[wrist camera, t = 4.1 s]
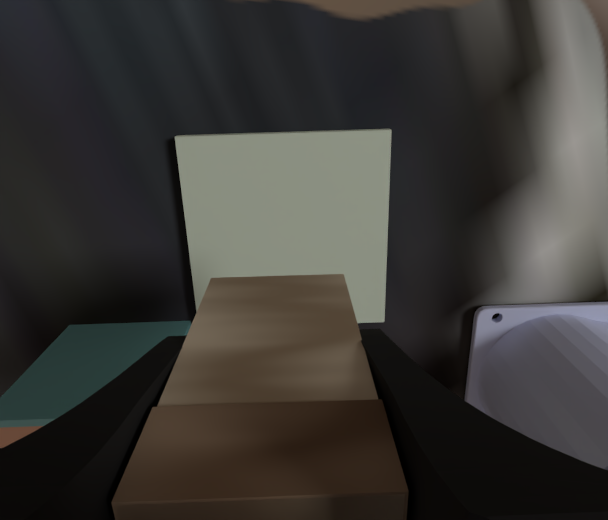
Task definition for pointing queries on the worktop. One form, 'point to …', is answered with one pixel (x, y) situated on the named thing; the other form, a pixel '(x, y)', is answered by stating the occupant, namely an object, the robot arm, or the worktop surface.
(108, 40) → the worktop surface
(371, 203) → the mat
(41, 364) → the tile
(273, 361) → the brown wooden box
